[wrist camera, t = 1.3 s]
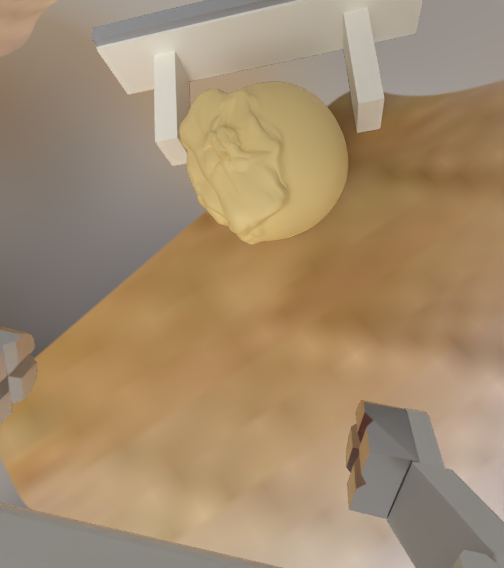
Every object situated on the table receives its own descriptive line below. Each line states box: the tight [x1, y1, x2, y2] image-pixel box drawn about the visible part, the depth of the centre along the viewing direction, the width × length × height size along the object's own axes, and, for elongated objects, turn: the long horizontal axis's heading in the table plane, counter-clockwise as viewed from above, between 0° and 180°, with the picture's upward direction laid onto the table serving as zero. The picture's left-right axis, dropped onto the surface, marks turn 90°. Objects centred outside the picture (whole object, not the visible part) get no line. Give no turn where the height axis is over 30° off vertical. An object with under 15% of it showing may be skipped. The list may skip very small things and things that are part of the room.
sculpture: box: [179, 82, 348, 244], centre depth 33 cm, size 11×12×11 cm
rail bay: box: [92, 0, 423, 166], centre depth 38 cm, size 28×11×7 cm, turn 94°
